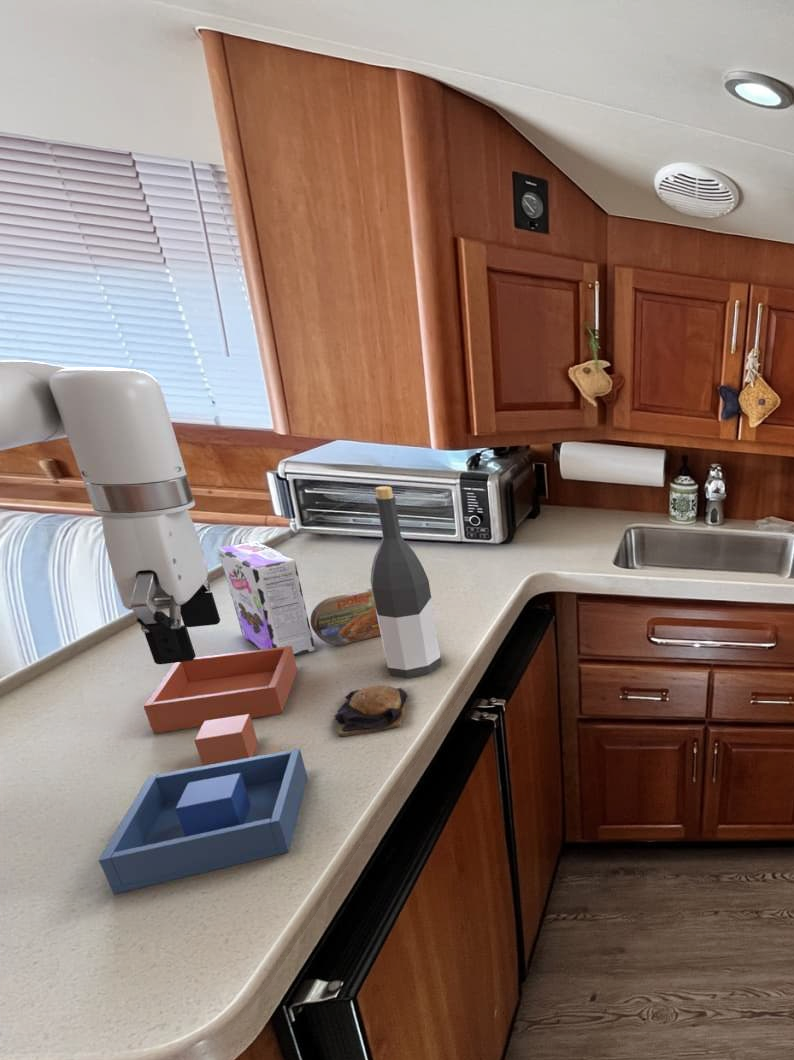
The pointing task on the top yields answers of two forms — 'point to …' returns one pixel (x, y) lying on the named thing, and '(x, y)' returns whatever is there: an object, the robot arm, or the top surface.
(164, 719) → the terracotta bin
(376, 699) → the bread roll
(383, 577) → the wine bottle
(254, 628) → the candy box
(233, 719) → the terracotta block
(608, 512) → the top surface
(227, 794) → the blue block
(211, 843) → the blue bin
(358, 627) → the tin
